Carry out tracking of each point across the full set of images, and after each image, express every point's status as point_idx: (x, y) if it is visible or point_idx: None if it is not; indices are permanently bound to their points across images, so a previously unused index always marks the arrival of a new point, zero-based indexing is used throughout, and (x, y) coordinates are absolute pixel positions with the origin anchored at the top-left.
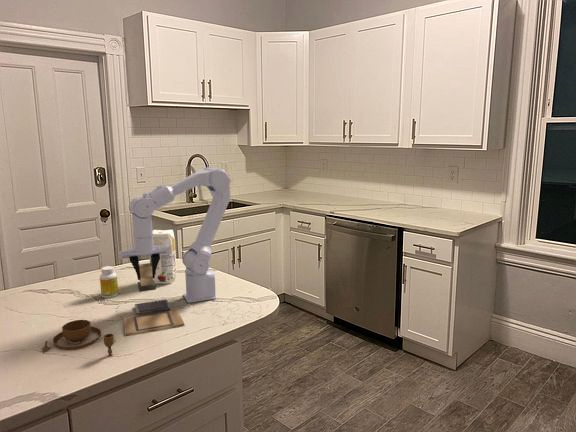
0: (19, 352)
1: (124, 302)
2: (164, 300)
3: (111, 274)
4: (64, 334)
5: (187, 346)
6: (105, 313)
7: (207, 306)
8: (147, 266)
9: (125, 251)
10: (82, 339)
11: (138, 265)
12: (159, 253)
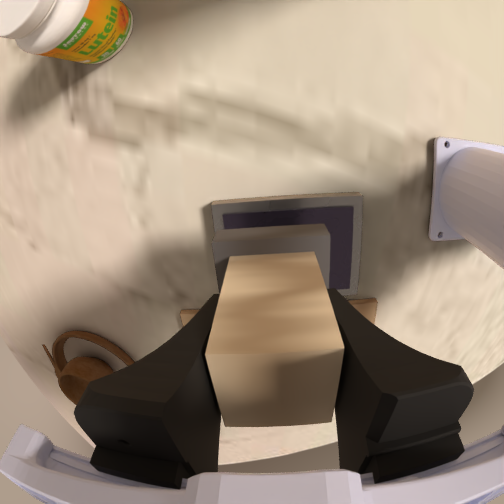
0: (30, 364)
1: (163, 129)
2: (349, 214)
3: (50, 21)
4: (77, 395)
5: (332, 442)
6: (108, 231)
7: (463, 284)
8: (293, 422)
9: (38, 488)
10: None
11: (214, 448)
12: (445, 470)
